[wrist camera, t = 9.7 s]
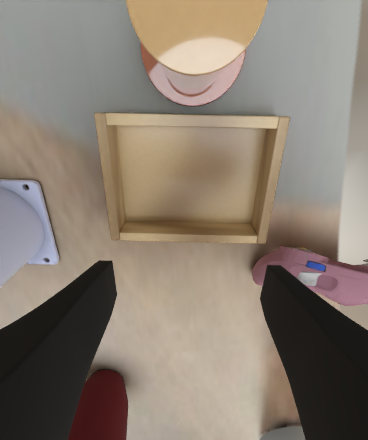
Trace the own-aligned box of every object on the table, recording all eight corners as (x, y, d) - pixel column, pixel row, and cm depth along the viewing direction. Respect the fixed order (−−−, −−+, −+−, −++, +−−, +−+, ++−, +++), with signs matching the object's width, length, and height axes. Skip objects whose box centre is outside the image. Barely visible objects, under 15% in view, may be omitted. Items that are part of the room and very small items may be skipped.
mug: (54, 385, 31) (-1, 500, 22) (59, 348, 27) (-4, 464, 18) (132, 401, 32) (109, 515, 23) (145, 366, 29) (125, 484, 20)
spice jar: (155, 90, 15) (129, 73, 9) (152, -5, 13) (115, -125, 7) (227, 91, 15) (258, 76, 9) (236, -4, 13) (285, -123, 7)
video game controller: (348, 256, 23) (430, 272, 16) (338, 301, 23) (416, 336, 16) (256, 232, 22) (300, 237, 15) (244, 279, 22) (284, 306, 15)
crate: (120, 225, 20) (111, 240, 18) (107, 112, 16) (93, 112, 14) (256, 228, 20) (265, 244, 18) (276, 115, 16) (291, 116, 14)
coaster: (144, 105, 16) (143, 105, 16) (138, -22, 13) (136, -26, 13) (238, 107, 16) (239, 107, 16) (252, -21, 13) (254, -24, 13)
